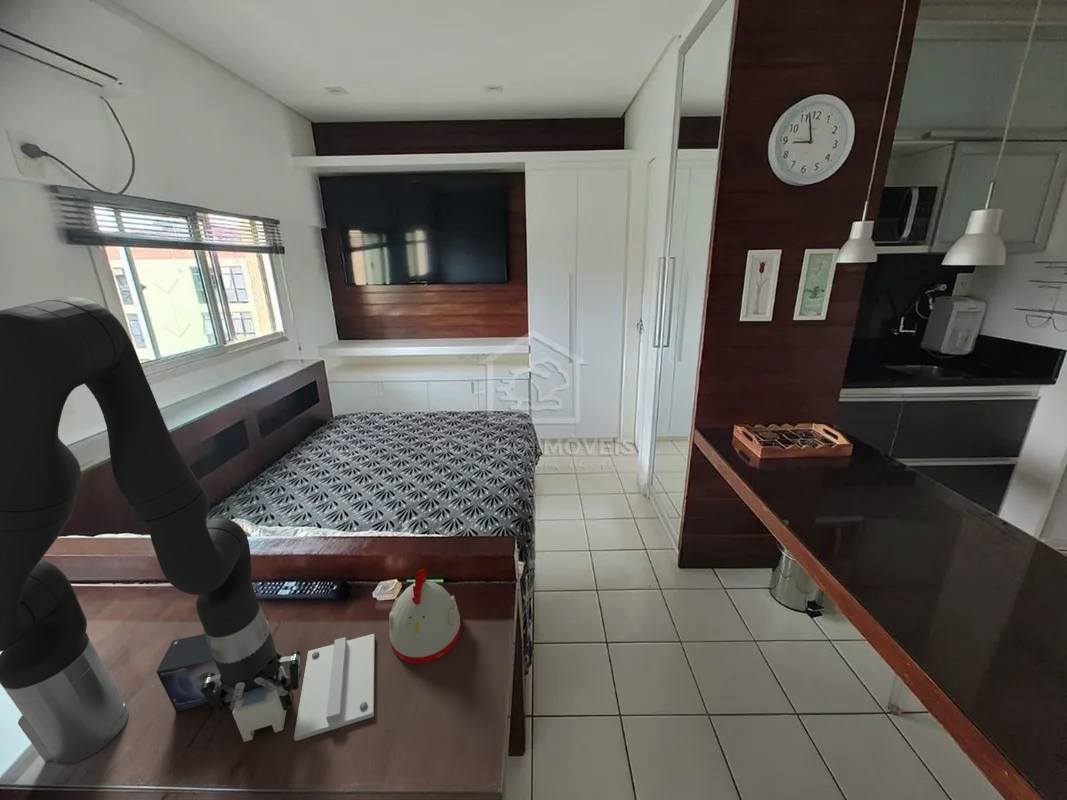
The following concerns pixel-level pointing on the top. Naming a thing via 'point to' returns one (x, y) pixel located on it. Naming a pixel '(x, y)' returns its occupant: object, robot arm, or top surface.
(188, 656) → the small box
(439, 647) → the kitchen timer
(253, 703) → the block
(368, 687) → the mounting plate
